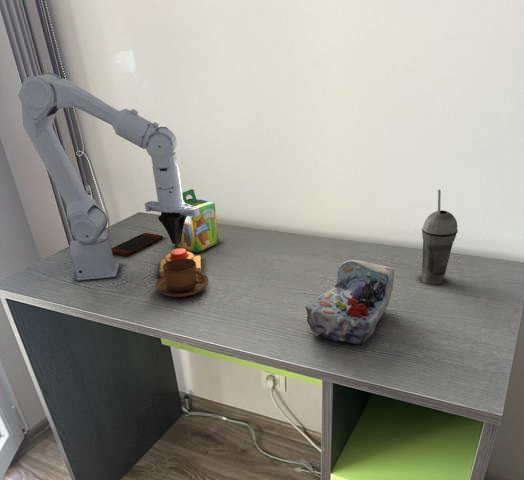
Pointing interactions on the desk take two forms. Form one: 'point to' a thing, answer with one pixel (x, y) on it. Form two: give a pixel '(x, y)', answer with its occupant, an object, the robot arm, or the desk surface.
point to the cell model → (352, 302)
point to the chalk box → (199, 225)
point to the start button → (178, 254)
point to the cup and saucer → (181, 279)
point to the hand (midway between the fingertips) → (176, 242)
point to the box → (189, 256)
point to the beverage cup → (437, 244)
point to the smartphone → (136, 244)
